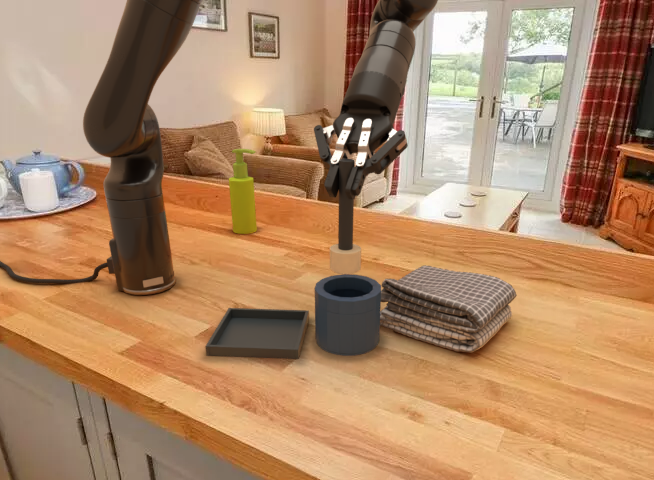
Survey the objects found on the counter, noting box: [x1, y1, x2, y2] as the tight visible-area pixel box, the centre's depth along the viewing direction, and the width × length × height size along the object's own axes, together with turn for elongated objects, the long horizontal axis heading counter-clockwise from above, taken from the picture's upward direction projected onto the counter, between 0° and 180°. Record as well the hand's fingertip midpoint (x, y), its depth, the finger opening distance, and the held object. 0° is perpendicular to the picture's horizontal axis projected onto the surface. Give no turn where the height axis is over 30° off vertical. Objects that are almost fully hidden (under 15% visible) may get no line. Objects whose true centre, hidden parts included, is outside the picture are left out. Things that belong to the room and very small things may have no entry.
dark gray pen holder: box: [314, 273, 382, 357], centre depth 72 cm, size 9×9×9 cm
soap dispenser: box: [228, 148, 258, 235], centre depth 119 cm, size 6×7×20 cm
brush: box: [329, 158, 362, 275], centre depth 66 cm, size 4×4×15 cm
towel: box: [380, 265, 517, 353], centre depth 78 cm, size 15×18×8 cm
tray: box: [205, 307, 310, 360], centre depth 74 cm, size 13×12×2 cm
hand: (340, 194), depth 63 cm, fingers closed on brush, 2 cm apart
